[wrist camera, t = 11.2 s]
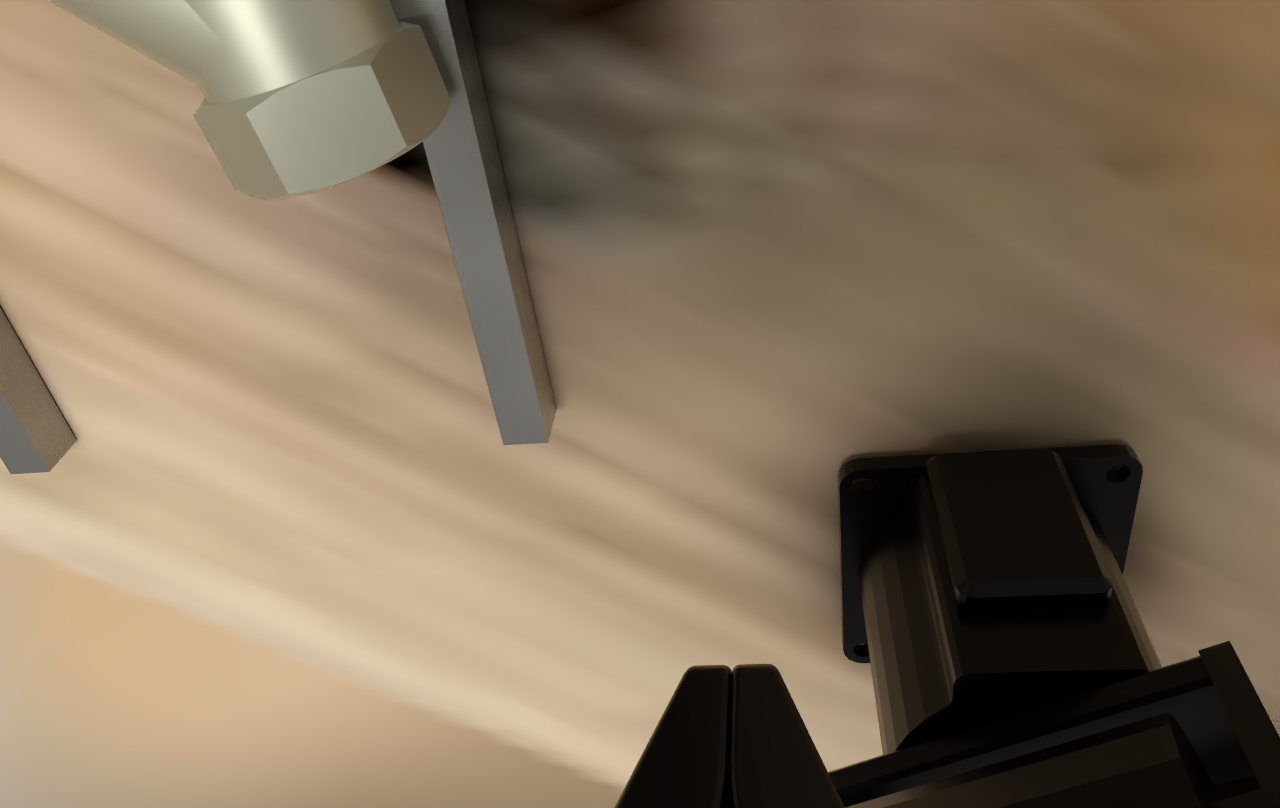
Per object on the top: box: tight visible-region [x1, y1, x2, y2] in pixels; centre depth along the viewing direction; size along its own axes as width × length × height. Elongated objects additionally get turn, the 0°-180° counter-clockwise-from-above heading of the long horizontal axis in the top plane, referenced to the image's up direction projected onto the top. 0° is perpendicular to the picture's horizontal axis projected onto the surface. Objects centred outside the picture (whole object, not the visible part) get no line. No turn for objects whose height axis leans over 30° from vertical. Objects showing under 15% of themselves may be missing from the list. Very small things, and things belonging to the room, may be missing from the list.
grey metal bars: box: [0, 0, 556, 474], centre depth 18 cm, size 19×14×2 cm
